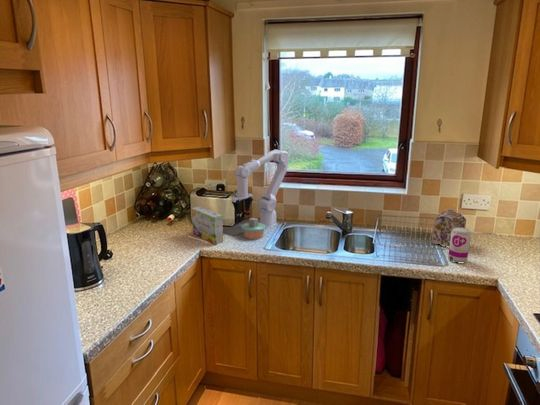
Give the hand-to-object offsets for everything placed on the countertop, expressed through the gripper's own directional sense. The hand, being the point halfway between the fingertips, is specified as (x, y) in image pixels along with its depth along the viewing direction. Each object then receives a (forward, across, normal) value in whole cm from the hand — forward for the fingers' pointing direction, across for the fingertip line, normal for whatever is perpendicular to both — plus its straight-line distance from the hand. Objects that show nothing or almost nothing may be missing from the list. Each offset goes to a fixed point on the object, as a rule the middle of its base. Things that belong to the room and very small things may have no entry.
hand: (242, 212), depth 227 cm
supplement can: (+11, -31, +105) cm, 110 cm away
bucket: (+10, +4, +12) cm, 16 cm away
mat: (+10, +4, -3) cm, 12 cm away
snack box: (+11, +22, -5) cm, 25 cm away
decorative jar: (+11, -51, +95) cm, 108 cm away
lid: (+5, +4, +11) cm, 13 cm away
